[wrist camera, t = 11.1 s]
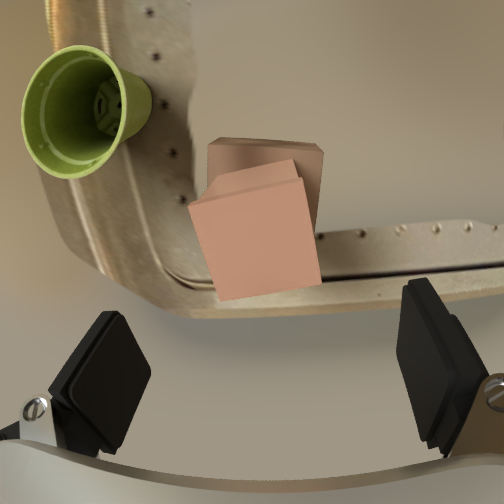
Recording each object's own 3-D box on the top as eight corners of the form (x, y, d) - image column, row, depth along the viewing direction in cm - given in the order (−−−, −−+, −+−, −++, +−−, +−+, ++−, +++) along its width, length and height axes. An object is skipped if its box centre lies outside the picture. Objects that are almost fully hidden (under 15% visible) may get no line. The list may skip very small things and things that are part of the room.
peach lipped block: (294, 156, 21) (303, 180, 14) (309, 231, 23) (321, 284, 17) (214, 174, 22) (187, 206, 15) (235, 245, 24) (220, 301, 18)
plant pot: (169, 156, 26) (126, 180, 18) (81, 156, 27) (24, 180, 19) (174, 52, 22) (131, 34, 14) (82, 63, 22) (22, 60, 15)
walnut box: (315, 143, 25) (323, 152, 21) (306, 230, 29) (311, 255, 24) (220, 137, 25) (207, 144, 21) (218, 224, 29) (207, 248, 25)
